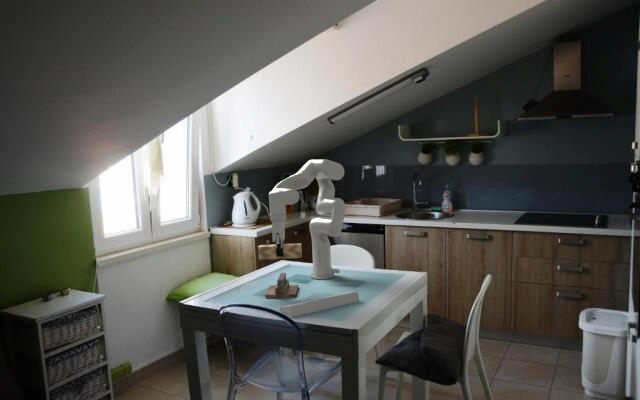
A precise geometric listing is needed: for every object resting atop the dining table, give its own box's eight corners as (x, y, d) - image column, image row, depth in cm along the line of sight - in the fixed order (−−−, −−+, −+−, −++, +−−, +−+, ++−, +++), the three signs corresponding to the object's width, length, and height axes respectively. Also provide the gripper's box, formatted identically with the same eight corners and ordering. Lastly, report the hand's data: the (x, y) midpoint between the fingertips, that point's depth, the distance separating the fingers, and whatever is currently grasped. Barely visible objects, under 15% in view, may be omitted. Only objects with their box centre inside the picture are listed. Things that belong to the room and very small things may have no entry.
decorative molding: (281, 318, 221) (291, 318, 213) (279, 307, 222) (289, 306, 213) (347, 302, 239) (359, 302, 230) (345, 292, 239) (357, 291, 231)
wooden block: (301, 255, 247) (301, 243, 247) (301, 257, 243) (300, 245, 242) (260, 257, 248) (259, 245, 247) (258, 259, 244) (258, 247, 243)
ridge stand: (298, 287, 257) (297, 271, 256) (295, 297, 241) (294, 280, 240) (270, 288, 257) (269, 272, 256) (265, 298, 241) (264, 281, 240)
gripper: (272, 214, 252) (274, 251, 254) (267, 220, 235) (270, 259, 237) (287, 213, 251) (290, 250, 254) (284, 219, 235) (286, 259, 237)
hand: (280, 254), depth 245 cm, fingers closed on wooden block, 4 cm apart
